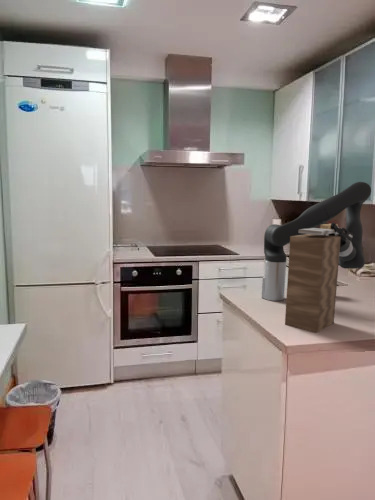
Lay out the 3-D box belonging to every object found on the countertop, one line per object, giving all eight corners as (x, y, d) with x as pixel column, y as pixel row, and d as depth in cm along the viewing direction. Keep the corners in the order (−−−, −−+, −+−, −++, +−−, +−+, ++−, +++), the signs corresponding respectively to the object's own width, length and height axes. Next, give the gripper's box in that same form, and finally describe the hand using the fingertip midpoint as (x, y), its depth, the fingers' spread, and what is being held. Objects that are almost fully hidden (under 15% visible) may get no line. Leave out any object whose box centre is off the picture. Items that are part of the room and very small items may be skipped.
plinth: (316, 332, 135) (323, 239, 131) (284, 324, 143) (290, 236, 138) (333, 322, 146) (340, 236, 142) (303, 315, 154) (308, 233, 150)
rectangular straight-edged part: (320, 235, 133) (321, 227, 133) (298, 232, 138) (298, 225, 138) (344, 231, 150) (345, 224, 149) (323, 229, 155) (324, 223, 154)
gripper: (326, 234, 165) (312, 214, 152) (361, 237, 156) (349, 216, 143) (321, 250, 163) (307, 231, 150) (356, 254, 154) (344, 234, 141)
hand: (327, 224), depth 147 cm, fingers closed on rectangular straight-edged part, 2 cm apart
